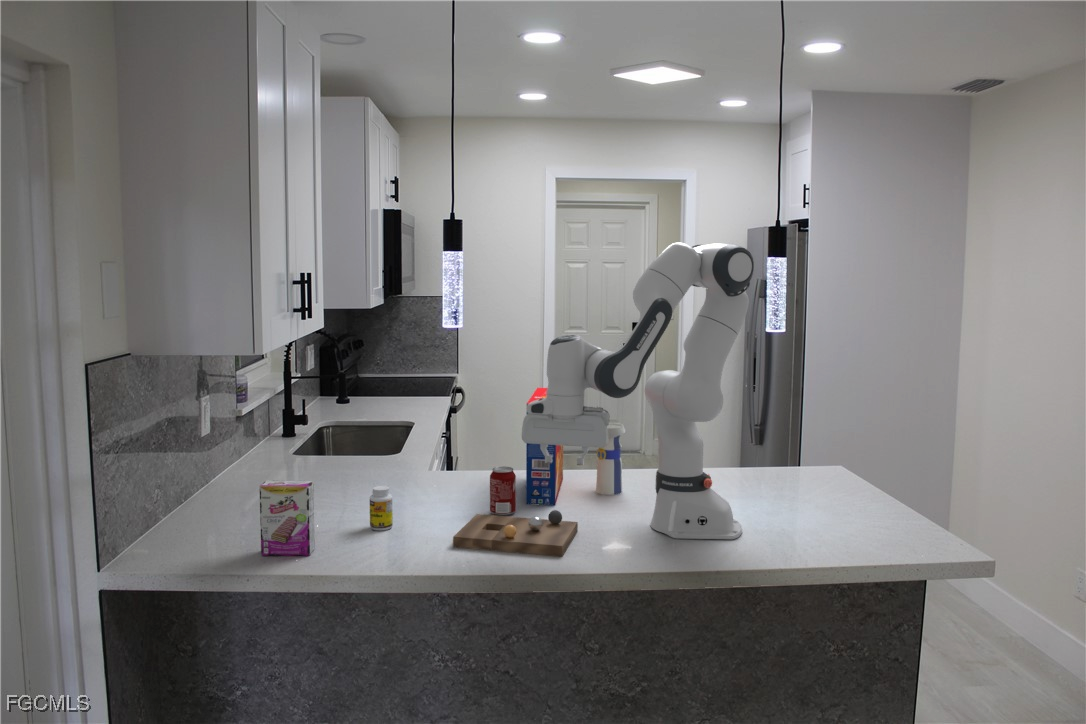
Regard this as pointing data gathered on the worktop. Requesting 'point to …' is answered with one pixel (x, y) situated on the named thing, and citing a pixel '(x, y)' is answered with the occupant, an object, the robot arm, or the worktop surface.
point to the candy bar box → (287, 518)
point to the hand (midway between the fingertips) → (564, 463)
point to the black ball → (555, 517)
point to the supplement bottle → (381, 509)
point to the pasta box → (543, 468)
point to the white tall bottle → (610, 462)
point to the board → (490, 535)
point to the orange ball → (510, 531)
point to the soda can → (502, 491)
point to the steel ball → (535, 523)
